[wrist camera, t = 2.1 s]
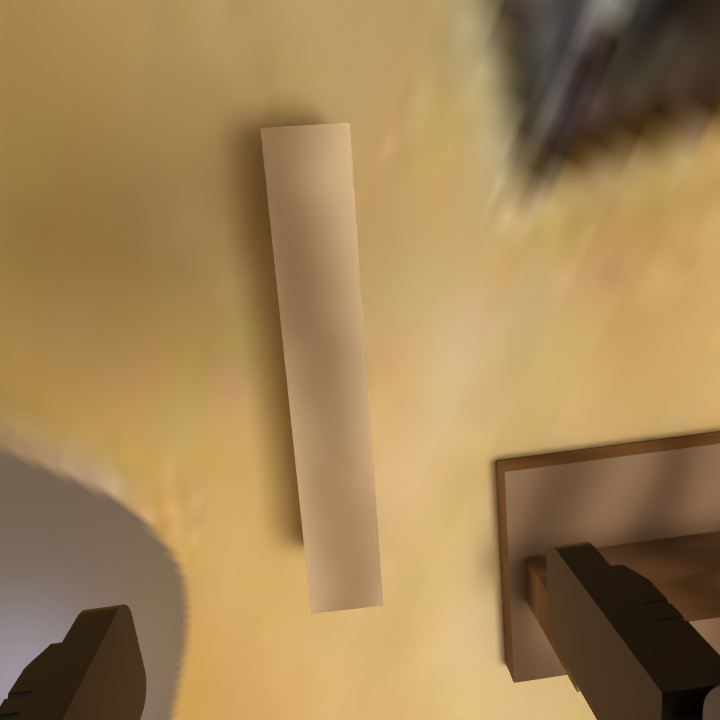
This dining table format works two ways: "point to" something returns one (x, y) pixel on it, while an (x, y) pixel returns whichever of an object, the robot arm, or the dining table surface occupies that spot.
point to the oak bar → (325, 358)
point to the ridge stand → (610, 533)
